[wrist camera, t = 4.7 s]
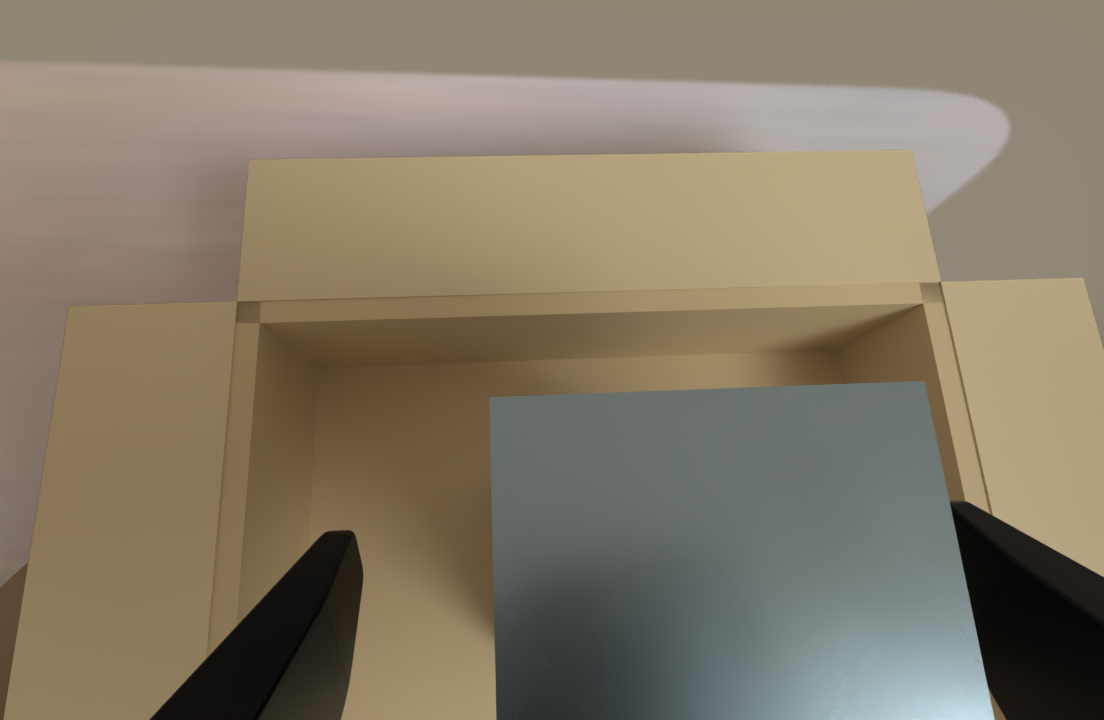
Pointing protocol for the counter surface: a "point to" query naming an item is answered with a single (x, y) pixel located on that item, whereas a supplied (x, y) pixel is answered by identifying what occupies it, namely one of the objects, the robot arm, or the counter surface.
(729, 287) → the carton
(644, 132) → the counter surface
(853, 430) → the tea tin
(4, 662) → the board
